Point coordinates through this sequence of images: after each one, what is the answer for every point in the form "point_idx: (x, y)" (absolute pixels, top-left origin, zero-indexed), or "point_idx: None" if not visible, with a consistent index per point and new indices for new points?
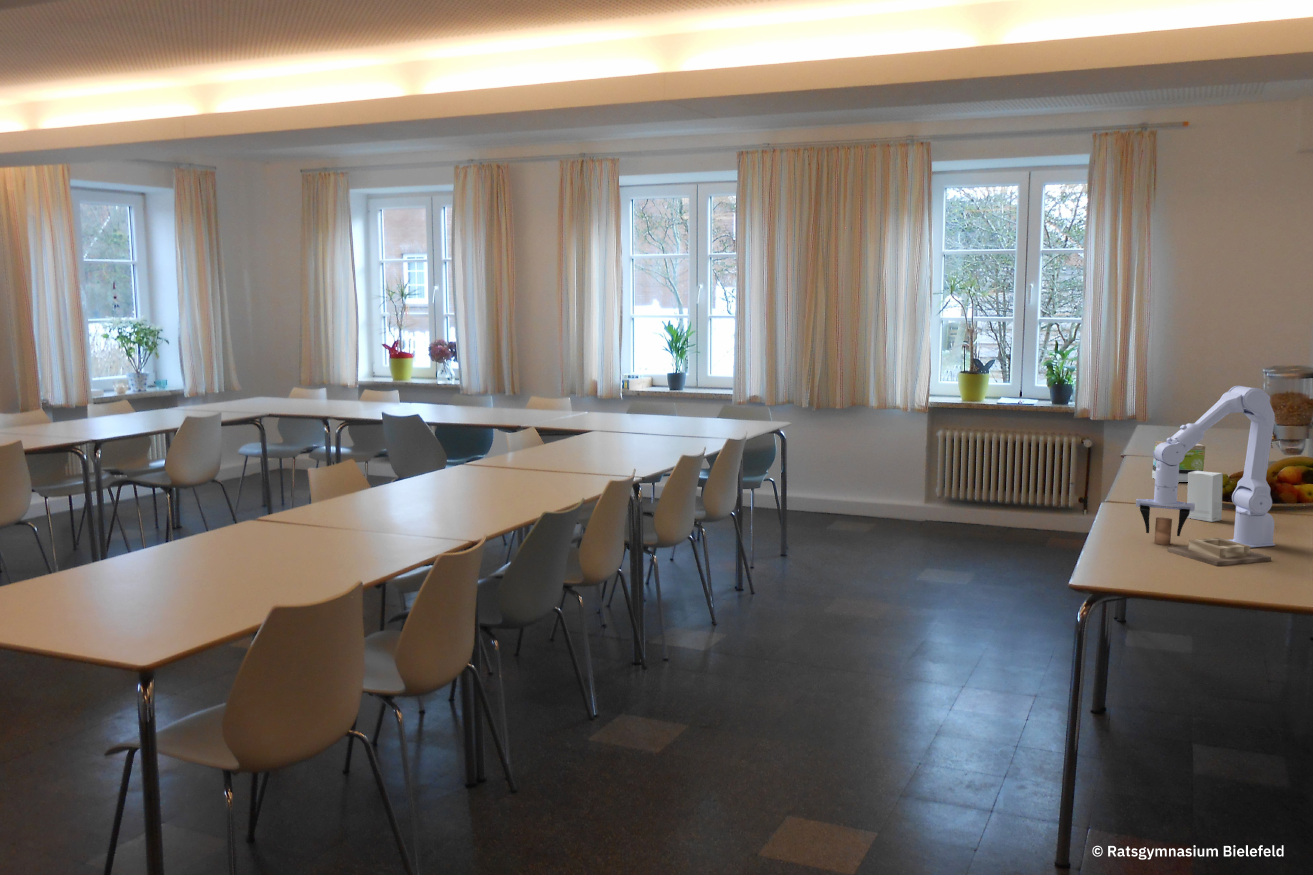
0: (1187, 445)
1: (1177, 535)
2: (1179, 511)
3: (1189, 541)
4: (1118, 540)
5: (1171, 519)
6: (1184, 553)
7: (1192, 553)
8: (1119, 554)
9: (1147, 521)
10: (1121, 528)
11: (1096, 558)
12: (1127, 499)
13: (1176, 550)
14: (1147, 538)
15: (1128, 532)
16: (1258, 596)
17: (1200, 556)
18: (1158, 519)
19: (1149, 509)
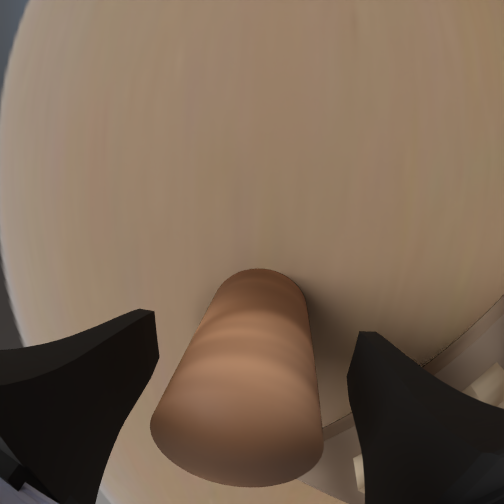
0: None
1: (349, 379)
2: (448, 478)
3: (358, 486)
4: (61, 316)
5: (314, 459)
6: (320, 488)
7: (345, 490)
8: (134, 479)
9: (111, 427)
10: (69, 10)
11: (110, 492)
12: None
13: (298, 478)
14: (170, 200)
15: (80, 78)
16: None
17: (357, 501)
18: (184, 467)
19: (65, 497)
